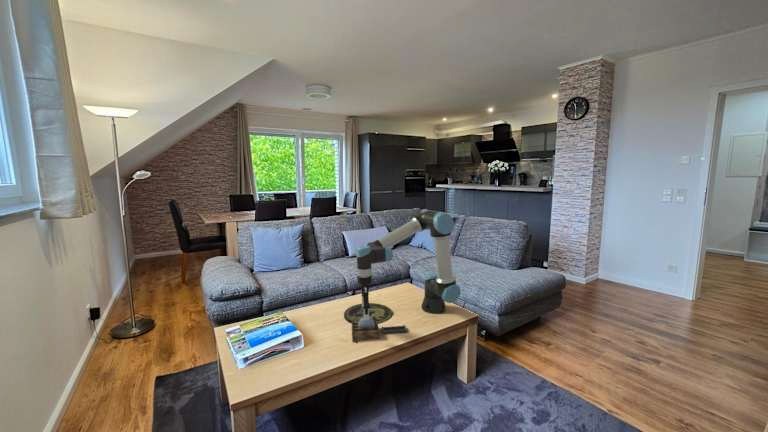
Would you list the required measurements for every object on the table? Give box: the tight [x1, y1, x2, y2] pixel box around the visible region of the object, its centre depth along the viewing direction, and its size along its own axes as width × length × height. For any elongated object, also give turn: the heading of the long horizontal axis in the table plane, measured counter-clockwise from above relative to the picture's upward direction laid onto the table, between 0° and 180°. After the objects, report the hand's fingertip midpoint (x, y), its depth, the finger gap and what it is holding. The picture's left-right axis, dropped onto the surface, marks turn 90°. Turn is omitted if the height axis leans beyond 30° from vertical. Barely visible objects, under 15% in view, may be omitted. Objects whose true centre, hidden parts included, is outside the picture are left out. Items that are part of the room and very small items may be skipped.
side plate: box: [358, 317, 375, 328], centre depth 173 cm, size 9×2×9 cm, turn 99°
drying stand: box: [381, 324, 408, 335], centre depth 177 cm, size 13×6×2 cm, turn 98°
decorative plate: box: [343, 302, 394, 325], centre depth 199 cm, size 30×2×30 cm
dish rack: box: [351, 321, 380, 343], centre depth 173 cm, size 14×12×5 cm
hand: (365, 313), depth 172 cm, fingers open, 13 cm apart
